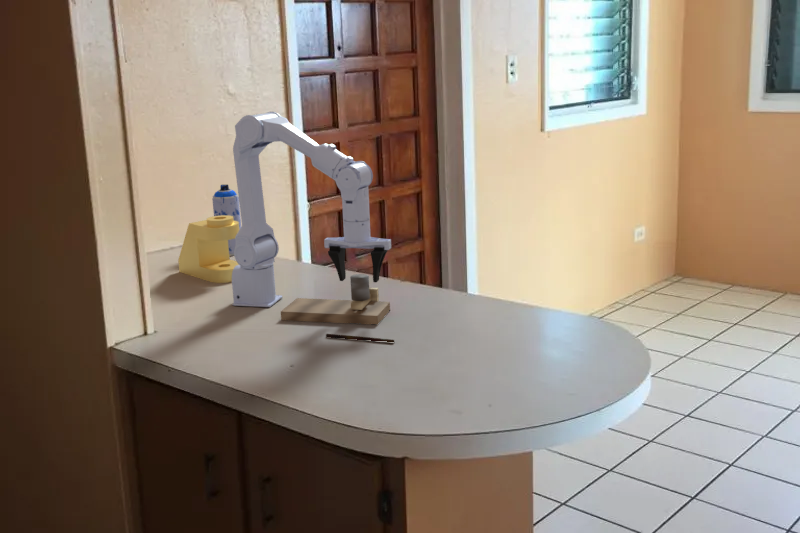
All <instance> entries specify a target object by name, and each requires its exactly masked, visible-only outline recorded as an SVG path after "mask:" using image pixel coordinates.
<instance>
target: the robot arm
mask: <svg viewBox="0 0 800 533" xmlns="http://www.w3.org/2000/svg"><path fill="white" fill-rule="evenodd" d="M234 129H235V130H234V131H235V140H234V142H233V145H232V146H233V148H232V154H233V160H234V168H235V169H234V170H235V177H236V184H237V185H236V187H237V194H238V197H239V206H240V218H241V228H240V230H239V232H238V233H237V235H236V237H235V238H236V245H235V249H234V255H233V256H234V259H235V261H237V263H238V264H239V265H236V266H235V267H234V269H233V272H232V282H231V285H232V287H231V288H232V297H233V303H232V306H239V307H258V308H270V307H272V306H274V305H275V304H276V303H277V302H278V301H280V300H281V299H282V298H283V295H281V294H280V295H279V294H276V293H277V292H276V291H277V290H276V280H275V268H274V267H275V266H274V263H276V262H275V257H277V255H278V254H279V248H280V247H279V244H278V241H277V239H276V236H275V233H274V228H272V227H271V226H270V225H269V224H268V223H267V219H266V210H265V209H266V208H265V200H264V191H263V182H262V176H261V167H260V166H261V165H260V157H259V156H260V154H261V153H262V152H263V151H264V150H265V149H266V147H268V145H270V144H272V143H275V142H282V143H283V144H285V145H286V146H289V147H290V148H292V149H294V150H296V151H297V152H299V153H301V154H303V155H304V156H306V157H308V158H310V160H311V165H312V167H314V168H315V169H317V170H318V171H320V172H321V173H323V174H324V175H326V176H327V177H329V178H330V179H332V180H334V181H335V184H336V186H337V188H338V189H339V191H340V197H341V204H342V206H341V207H342V222H343V224H342V225H343V236H342V237H341V236H339V237H336V236H335V237H326V238H324V239H323V242H324V243H323V244H324V245H323V246H324V249H329V250H328V252H327V254H328V256H329V258H330V259H331V261H332V263H333V265H334V267H335V270H336V272H337V275H338V279H339V281H340V282H344V280H346V274H347V272H346V260H345V259H346V249H367V250H368V249H372V251H371V252H370V257H371V258H370V259H371V263H372V281H373V283H378V282H379V281H380V274H381V270H382V265H383V263H384V260H385V257H386V255H387V252H388V251H389V250H391V249H392V239H391V238H379V237H373V236H371V221H370V220H371V219H370V218H371V216H370V193H369V192H370V191H369V186H370V185H371V184H372V182H373V178H374V174H373V173H374V172H373V171H372V168H371V166H370V165H369V164H368V163H366V162H365V161H363V160H357V161H355V160H354V158H353V157H352V156H351V155H349V156H347V155H346V154H344V153H343V152H341V151H339V150H338V149H337V146H336V145H335V144H333V143H330V144H328V143H322V144H318V143H317V142H316V141H315V140H314V139H312V138H310V137H309V136H308V135H307V134H306V133H304V132H302V131H301V130H300V129H298V127H295V126H294V125H293V124H292V123H291V122H289V120H288V118H287V117H284V116H282V115H281V114H279V113H278V112H276V111H268V112H263V113H258V114H252V115H251V114H246V115H244V116H242V117H241V118H240V119H239V120H238V121H237V122H236V124H235V125H234Z"/></svg>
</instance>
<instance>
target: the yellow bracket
mask: <svg viewBox="0 0 800 533" xmlns="http://www.w3.org/2000/svg"><path fill="white" fill-rule="evenodd" d="M238 232H239V222H238V221H234V218H233V216H228V215H221V216H214V215H213V216H210V217H207V218H206V219H204V220H199V221H198V220H197V221H193V222H190V223H188V225H187V229H186V232H185V235H184V239H183V242H182V246H181V250H180V252H179V255H178V260H177V261H178V270H179V273H182V274H185V275H187V276H191V277H194V278H197V279H200V280H204V281H207V282H210V283H213V284H227V283H232V272H233V269H234V267H235V266H236V265H239V264H238V263H237V261H236V260H233V259H230V258H231V257H230V256H229V246H228V240H231V239H235V237H236V235H237V233H238Z"/></svg>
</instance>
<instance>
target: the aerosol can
mask: <svg viewBox="0 0 800 533" xmlns="http://www.w3.org/2000/svg"><path fill="white" fill-rule="evenodd" d="M212 210H213V211H212V212H213V216H221V215H228V216H233V218H234V221H238V222H239V230H240V228H241V227H242V220H241V212H240V204H239V195H238V193H237V192H236V191H235V190H233V189H231V188H229V184H220V189H218V190H217V191H215V192H214V194H213V195H212ZM235 245H236V238H235V239H231V240H228V246H229V257H230V256H231V257H232V256H234V249H235Z"/></svg>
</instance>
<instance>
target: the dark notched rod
mask: <svg viewBox="0 0 800 533" xmlns="http://www.w3.org/2000/svg"><path fill="white" fill-rule="evenodd" d="M327 337H331V338H330V339H337V338H345V339H344V340H348V339H357V340H356V341H358V340H371V341H387V342H394V343H395V339H389V338H381V337H380V338H379V337H378V338H377V337H368V336H359V335H348V334H347V335H346V334H336V333H326V334H325V338H327Z"/></svg>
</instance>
